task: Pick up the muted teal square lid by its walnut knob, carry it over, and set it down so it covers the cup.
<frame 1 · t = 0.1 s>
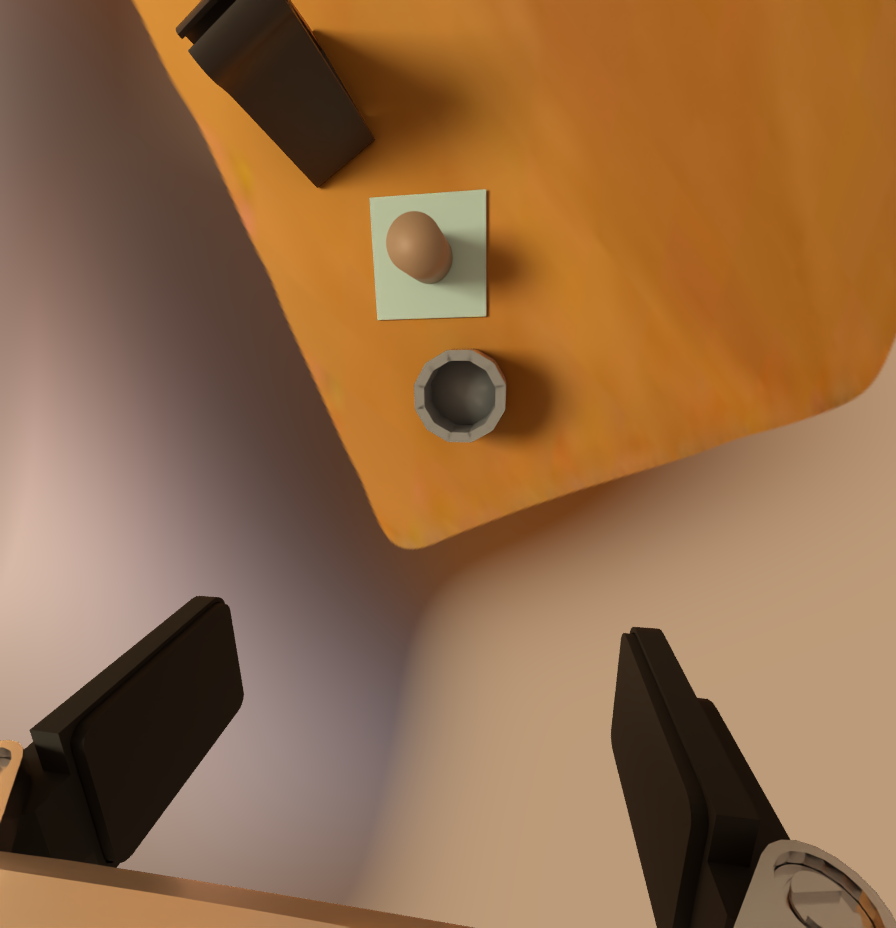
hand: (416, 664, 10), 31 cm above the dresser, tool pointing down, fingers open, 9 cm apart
lid: (430, 259, 37), on the dresser
phone stand: (316, 113, 35), on the dresser
cup: (465, 391, 39), on the dresser
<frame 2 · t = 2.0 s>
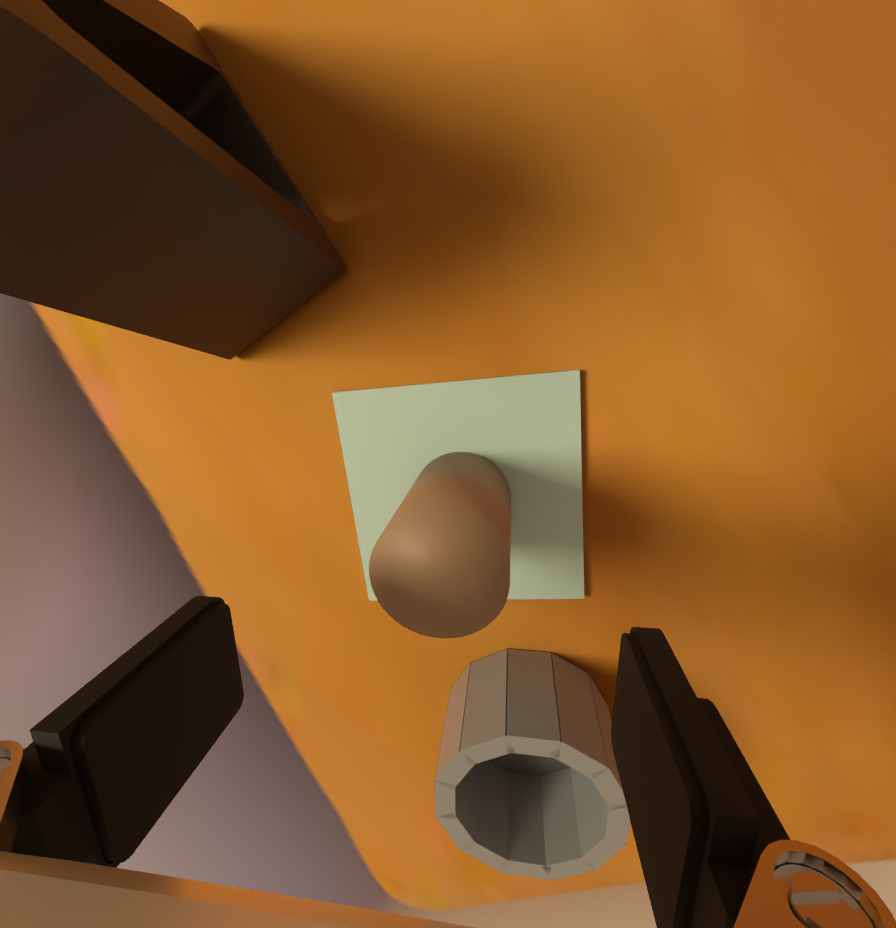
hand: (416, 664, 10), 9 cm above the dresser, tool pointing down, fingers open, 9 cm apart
lid: (463, 493, 19), on the dresser
phone stand: (221, 210, 16), on the dresser
cup: (526, 713, 21), on the dresser
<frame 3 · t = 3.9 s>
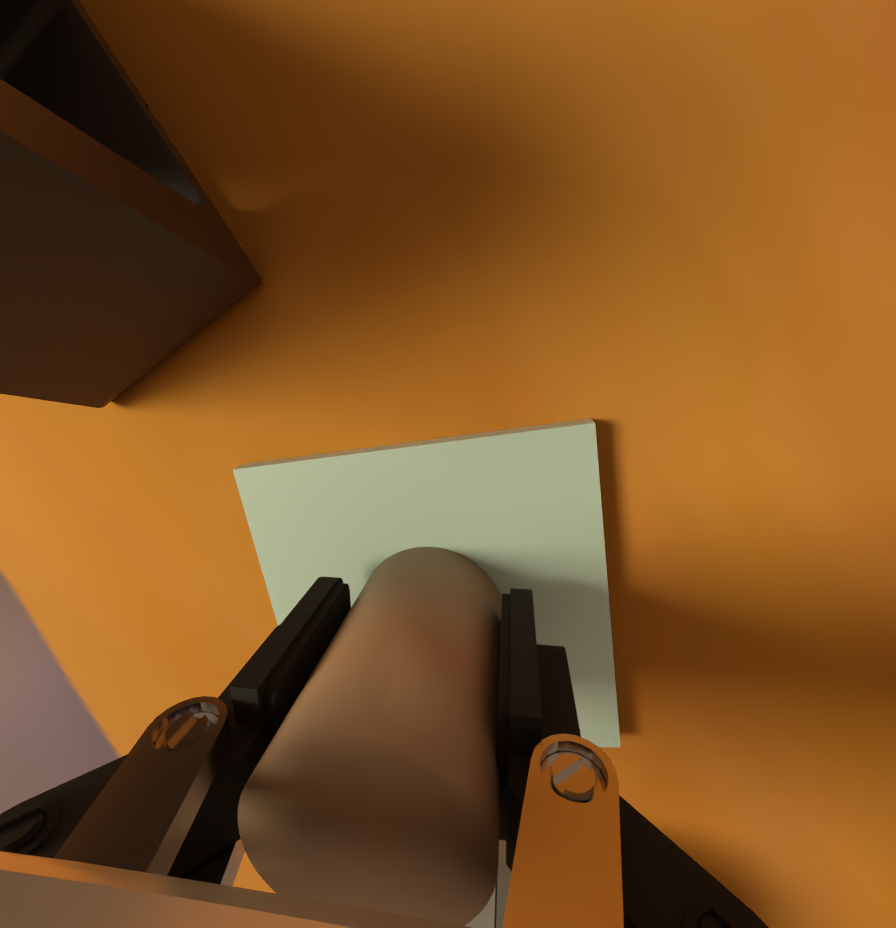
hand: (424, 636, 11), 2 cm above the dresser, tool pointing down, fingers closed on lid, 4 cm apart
lid: (435, 600, 13), on the dresser, touching gripper
phone stand: (81, 195, 11), on the dresser
cup: (524, 885, 15), on the dresser
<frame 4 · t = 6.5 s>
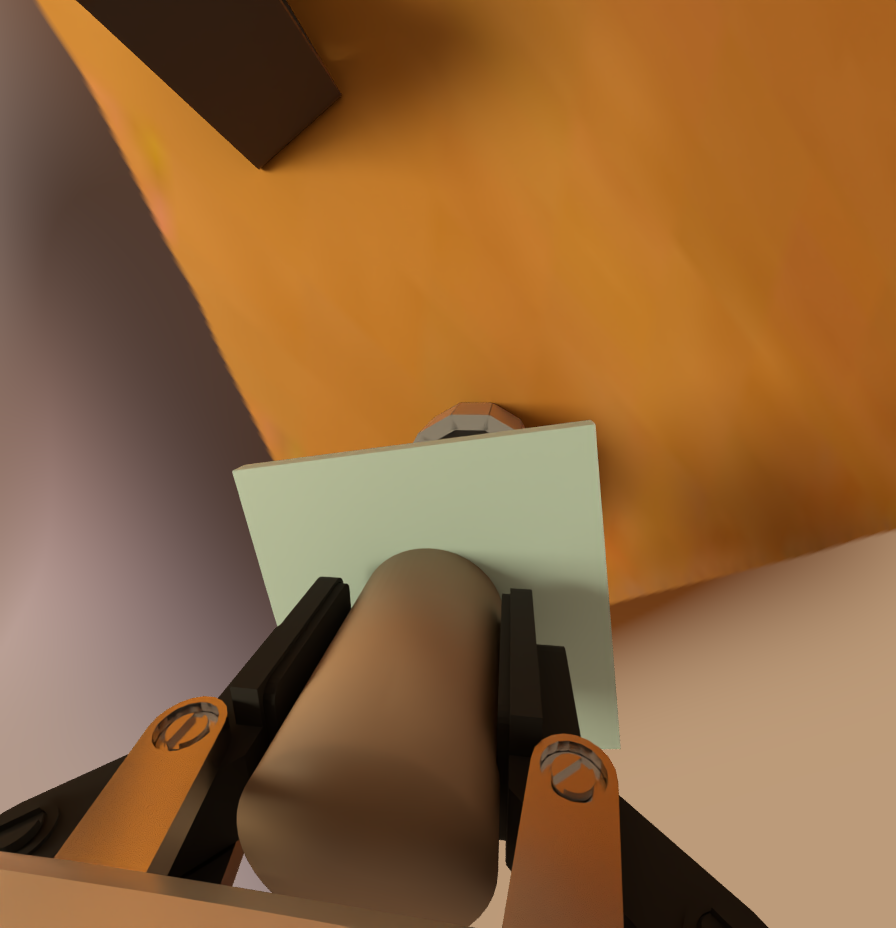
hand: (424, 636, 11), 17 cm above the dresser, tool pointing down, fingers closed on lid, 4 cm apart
lid: (435, 601, 13), point 16 cm above the dresser, touching gripper
phone stand: (254, 57, 24), on the dresser
cup: (476, 460, 28), on the dresser
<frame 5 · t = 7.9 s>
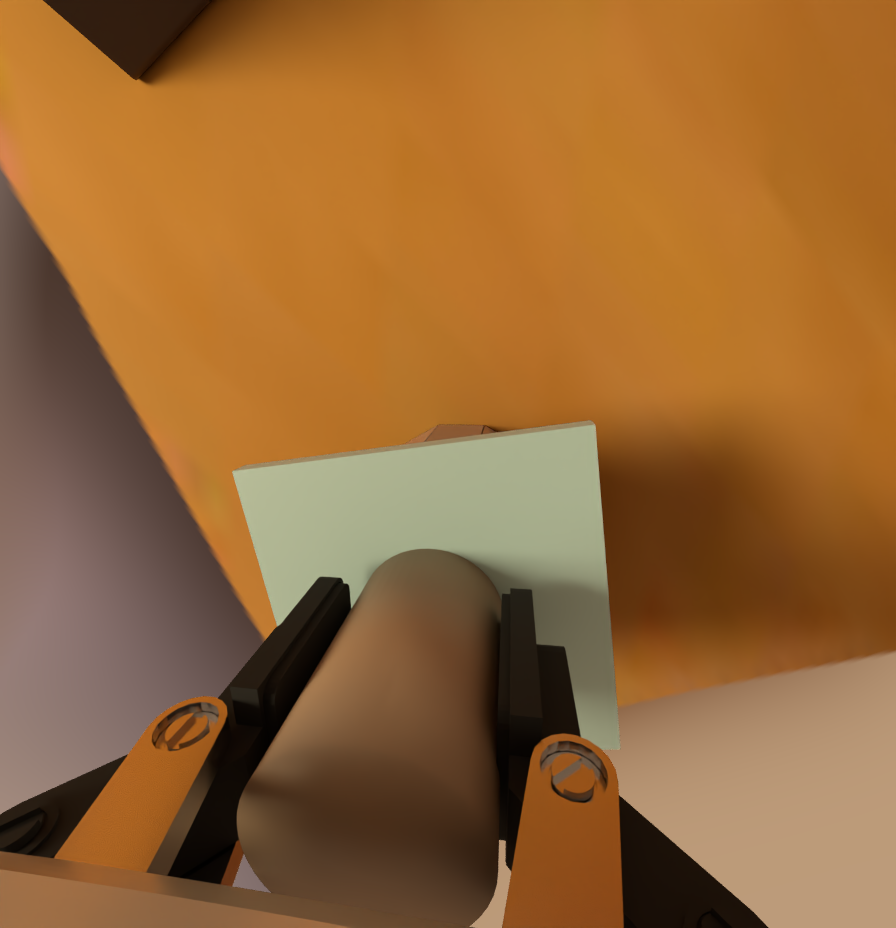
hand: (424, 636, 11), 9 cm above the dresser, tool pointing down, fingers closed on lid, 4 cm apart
lid: (435, 601, 13), point 7 cm above the dresser, touching gripper
cup: (461, 505, 20), on the dresser
when the fingers open (8 cm above the dresser, at t = 9.2 s): lid drops 1 cm, resting on cup.
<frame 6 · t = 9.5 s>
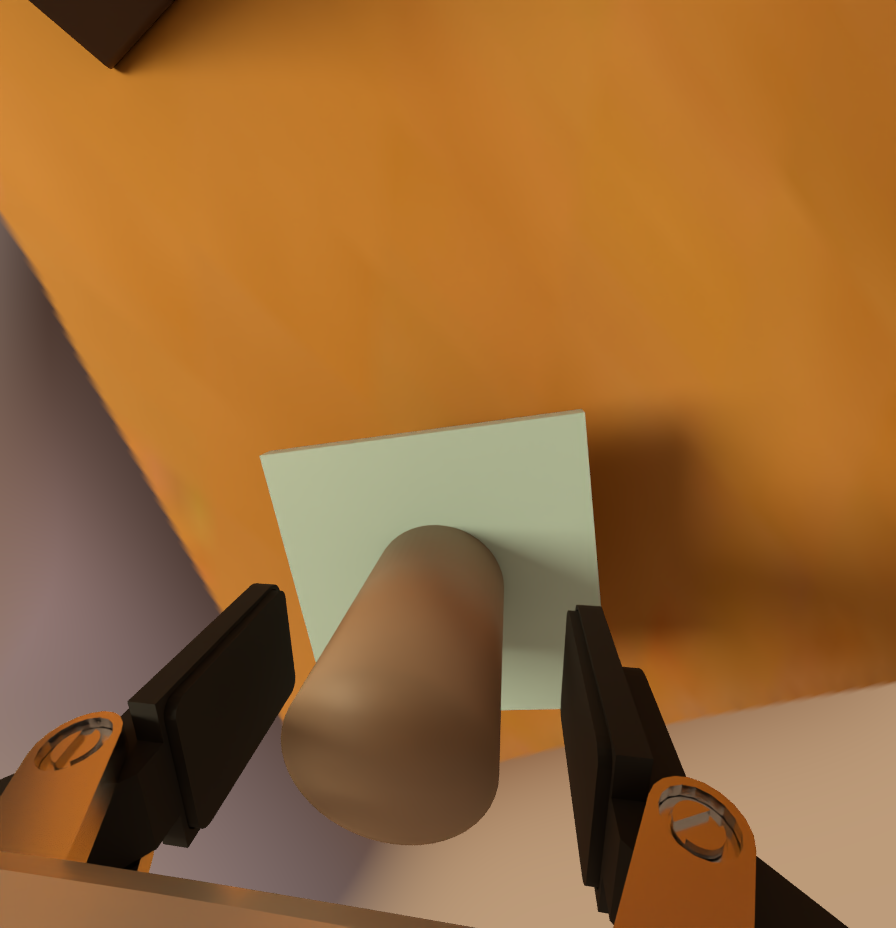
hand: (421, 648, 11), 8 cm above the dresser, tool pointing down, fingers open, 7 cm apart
lid: (441, 575, 14), point 4 cm above the dresser, touching cup
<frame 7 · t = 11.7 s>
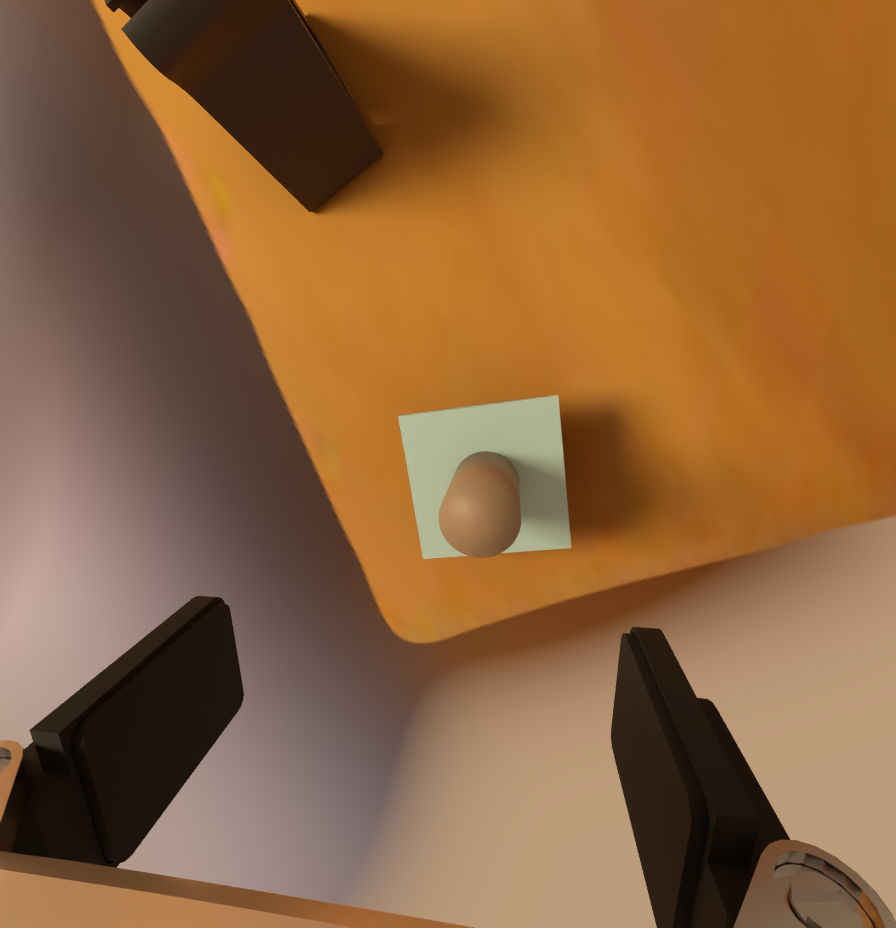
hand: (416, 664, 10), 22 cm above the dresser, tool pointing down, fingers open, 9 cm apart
lid: (486, 480, 28), point 4 cm above the dresser, touching cup
phone stand: (309, 120, 28), on the dresser
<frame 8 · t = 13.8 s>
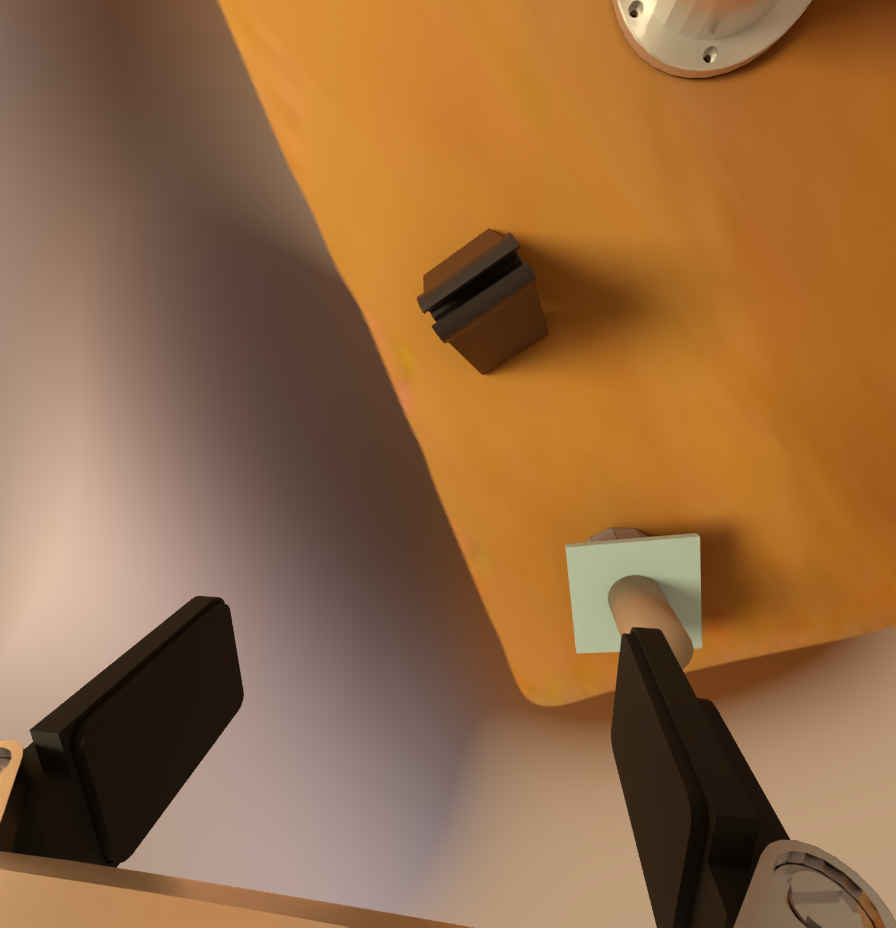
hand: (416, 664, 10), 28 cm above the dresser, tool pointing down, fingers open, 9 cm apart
lid: (632, 593, 35), point 4 cm above the dresser, touching cup
phone stand: (486, 305, 35), on the dresser
cup: (619, 566, 39), on the dresser
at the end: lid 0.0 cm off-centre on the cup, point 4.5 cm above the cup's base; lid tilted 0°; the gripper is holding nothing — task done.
